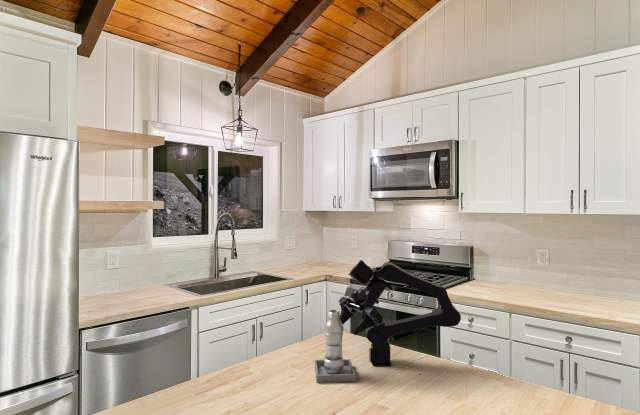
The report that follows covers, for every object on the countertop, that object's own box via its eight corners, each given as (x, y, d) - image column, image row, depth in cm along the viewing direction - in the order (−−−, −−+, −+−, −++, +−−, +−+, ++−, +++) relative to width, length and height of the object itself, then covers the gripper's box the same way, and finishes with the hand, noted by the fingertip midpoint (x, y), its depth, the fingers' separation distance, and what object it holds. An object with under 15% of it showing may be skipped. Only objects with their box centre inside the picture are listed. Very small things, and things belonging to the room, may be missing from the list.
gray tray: (350, 365, 140) (350, 359, 139) (355, 381, 127) (355, 374, 127) (314, 366, 139) (314, 360, 139) (316, 382, 127) (316, 375, 127)
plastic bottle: (347, 370, 134) (347, 310, 134) (337, 378, 129) (337, 315, 128) (330, 366, 138) (330, 307, 137) (320, 373, 132) (320, 312, 132)
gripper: (342, 273, 145) (316, 309, 140) (376, 283, 130) (348, 323, 124) (360, 293, 150) (335, 328, 144) (395, 304, 134) (368, 344, 128)
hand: (345, 330), depth 135 cm, fingers open, 9 cm apart
